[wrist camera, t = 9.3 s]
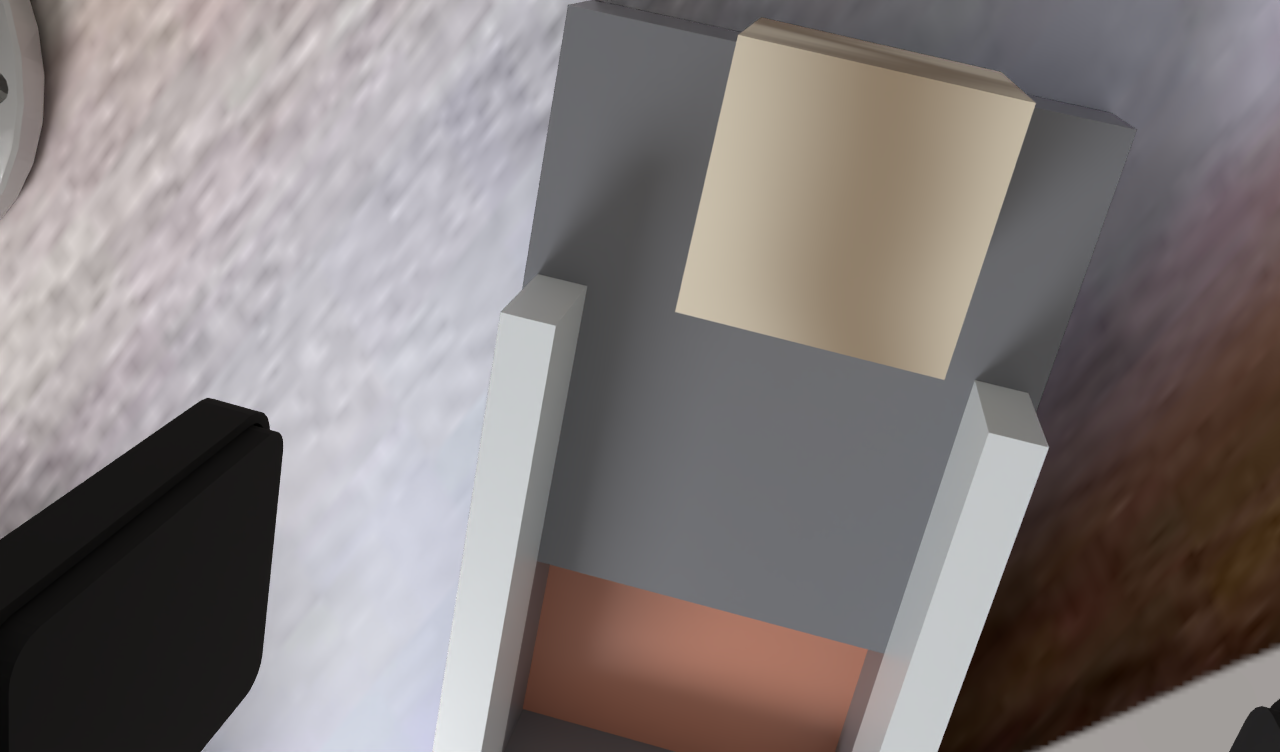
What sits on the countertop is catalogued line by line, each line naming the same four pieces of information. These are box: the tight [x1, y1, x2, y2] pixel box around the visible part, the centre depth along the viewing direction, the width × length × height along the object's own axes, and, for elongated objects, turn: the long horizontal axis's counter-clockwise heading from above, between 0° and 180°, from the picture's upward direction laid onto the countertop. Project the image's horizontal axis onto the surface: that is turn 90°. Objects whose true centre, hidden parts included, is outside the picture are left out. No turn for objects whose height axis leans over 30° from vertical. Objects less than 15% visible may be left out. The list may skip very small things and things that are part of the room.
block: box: [675, 17, 1036, 380], centre depth 22 cm, size 5×5×5 cm
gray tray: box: [432, 0, 1137, 752], centre depth 28 cm, size 22×12×6 cm, turn 169°
